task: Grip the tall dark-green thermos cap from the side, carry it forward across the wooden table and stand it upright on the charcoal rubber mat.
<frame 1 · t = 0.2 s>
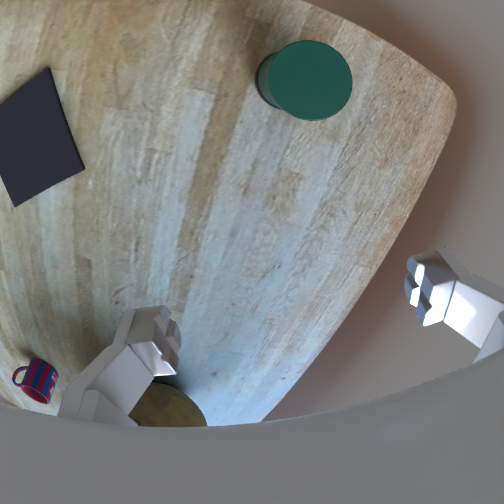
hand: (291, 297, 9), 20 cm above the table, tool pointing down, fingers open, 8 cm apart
mat: (27, 141, 23), on the table
thermos cap: (286, 80, 22), on the table
mug: (38, 365, 44), on the table
clay pot: (159, 390, 47), on the table
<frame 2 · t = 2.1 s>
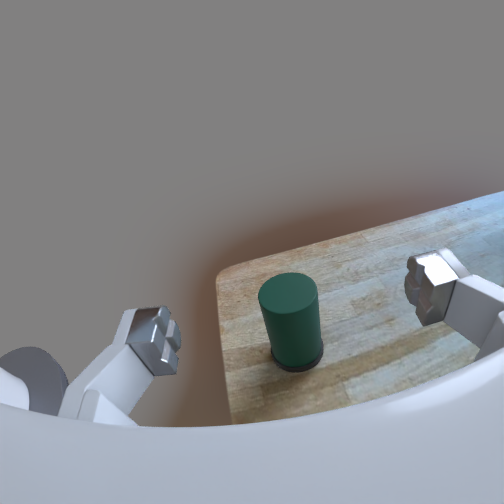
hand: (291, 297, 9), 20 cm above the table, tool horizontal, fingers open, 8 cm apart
thermos cap: (297, 350, 30), on the table
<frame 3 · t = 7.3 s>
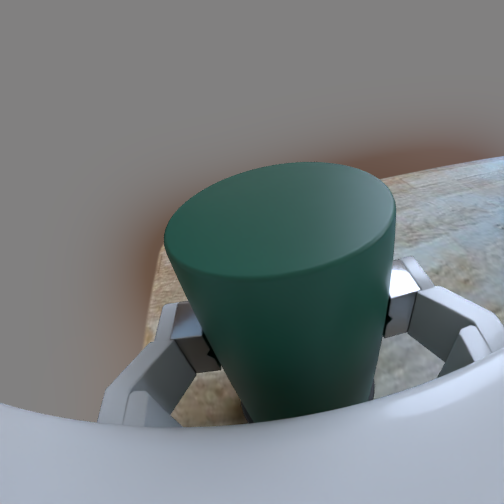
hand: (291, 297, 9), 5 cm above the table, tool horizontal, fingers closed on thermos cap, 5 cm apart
thermos cap: (308, 394, 11), on the table, touching gripper
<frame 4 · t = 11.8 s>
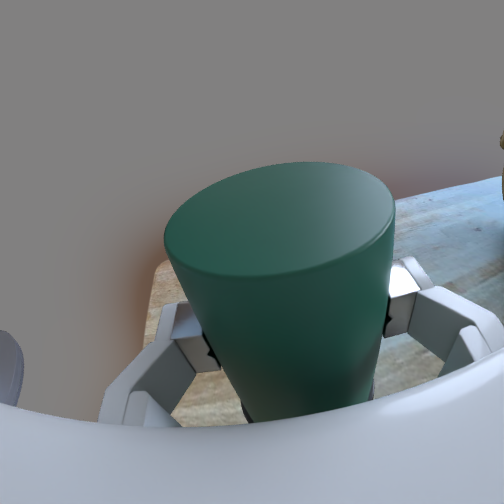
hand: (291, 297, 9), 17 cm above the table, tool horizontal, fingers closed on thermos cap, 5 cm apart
thermos cap: (307, 394, 11), point 12 cm above the table, touching gripper
when the fingers open (6 cm above the table, at t = 16.7 s): thermos cap stays where it is, resting on mat.
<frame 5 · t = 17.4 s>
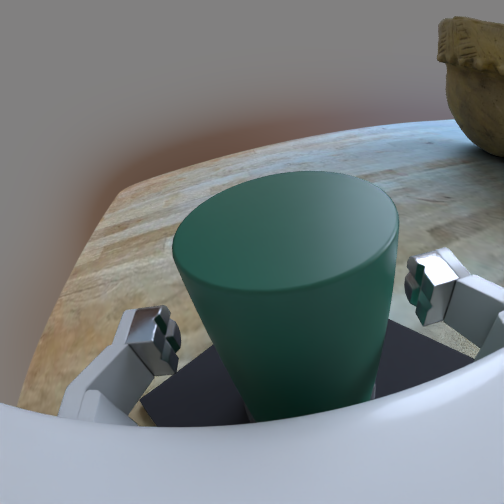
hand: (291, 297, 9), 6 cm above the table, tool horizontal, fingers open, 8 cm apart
mat: (308, 402, 12), on the table
thermos cap: (310, 397, 12), resting on mat
clay pot: (500, 154, 30), on the table
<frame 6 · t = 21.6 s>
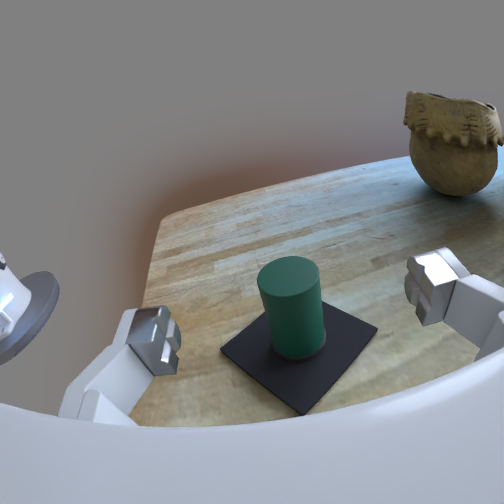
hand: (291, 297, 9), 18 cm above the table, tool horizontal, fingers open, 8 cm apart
mat: (298, 343, 30), on the table
thermos cap: (299, 340, 29), resting on mat
clay pot: (452, 191, 48), on the table
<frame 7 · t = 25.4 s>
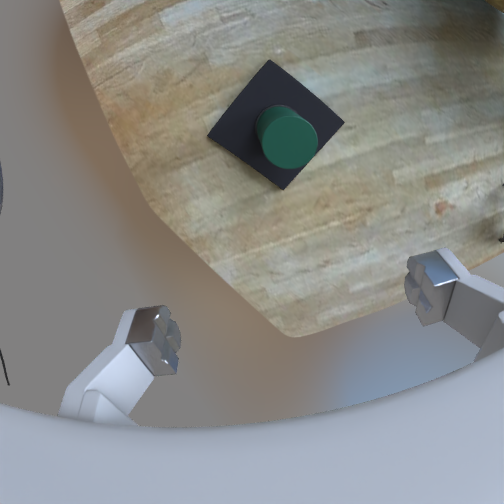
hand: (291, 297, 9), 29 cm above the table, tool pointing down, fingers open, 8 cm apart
figurine: (502, 211, 40), on the table
mat: (277, 125, 33), on the table
thermos cap: (278, 126, 33), resting on mat
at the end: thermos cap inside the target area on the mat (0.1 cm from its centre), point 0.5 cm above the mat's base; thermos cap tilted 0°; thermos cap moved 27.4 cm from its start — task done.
